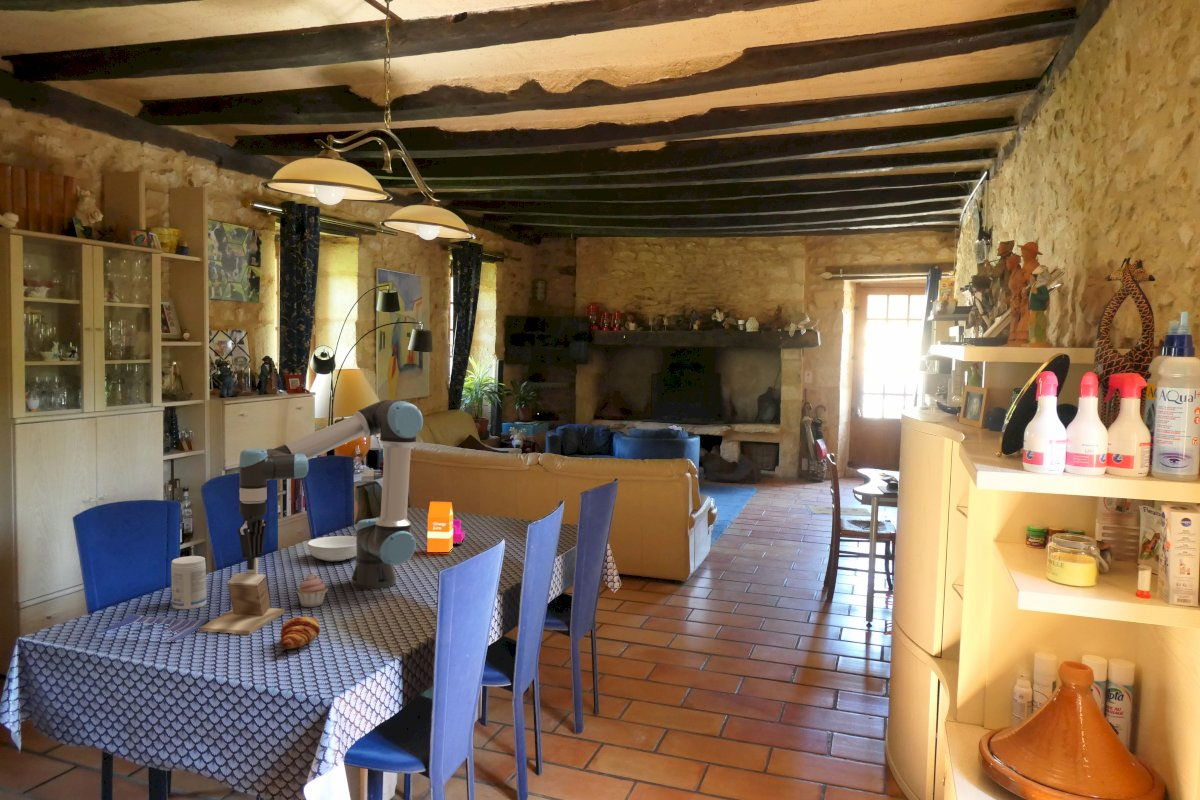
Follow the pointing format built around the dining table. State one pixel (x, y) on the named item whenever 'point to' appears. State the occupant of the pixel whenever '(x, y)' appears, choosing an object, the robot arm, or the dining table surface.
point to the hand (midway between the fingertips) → (252, 579)
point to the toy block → (457, 531)
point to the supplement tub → (188, 582)
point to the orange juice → (440, 527)
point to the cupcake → (312, 591)
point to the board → (241, 622)
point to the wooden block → (249, 594)
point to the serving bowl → (333, 548)
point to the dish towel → (175, 625)
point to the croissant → (299, 632)
